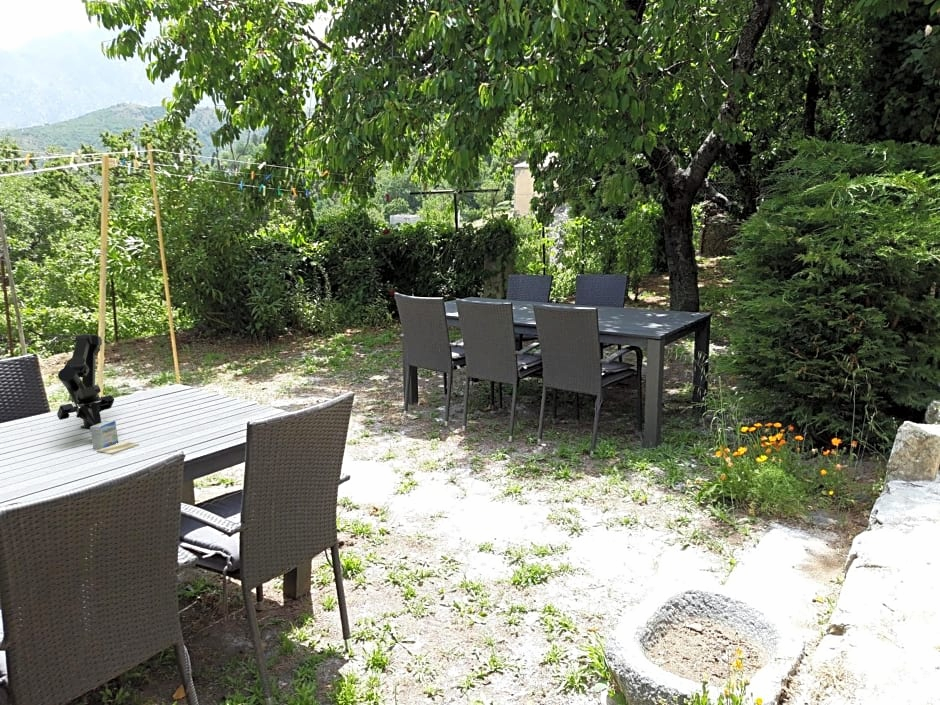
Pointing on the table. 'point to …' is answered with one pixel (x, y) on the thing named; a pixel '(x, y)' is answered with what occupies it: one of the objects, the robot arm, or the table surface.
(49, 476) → the table surface
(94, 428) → the medicine box
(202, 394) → the table surface
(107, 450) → the pad
